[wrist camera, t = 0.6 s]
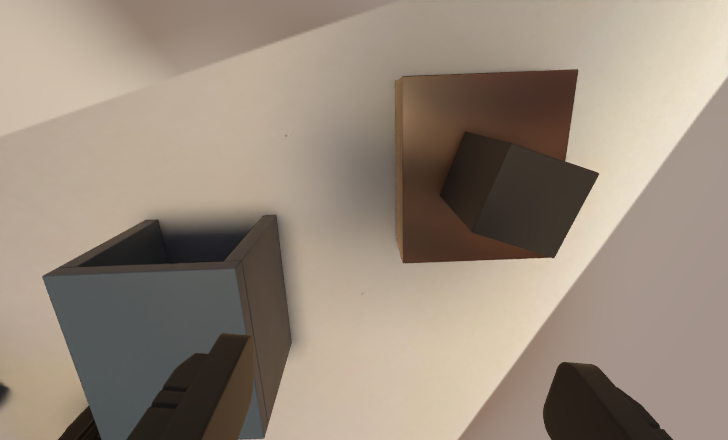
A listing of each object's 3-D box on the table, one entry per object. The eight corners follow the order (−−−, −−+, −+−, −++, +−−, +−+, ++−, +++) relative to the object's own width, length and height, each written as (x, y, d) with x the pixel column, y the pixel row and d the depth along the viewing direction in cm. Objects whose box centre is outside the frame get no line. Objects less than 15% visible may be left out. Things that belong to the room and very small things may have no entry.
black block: (439, 195, 26) (471, 232, 19) (465, 131, 25) (511, 143, 17) (499, 215, 27) (554, 258, 19) (528, 152, 25) (600, 173, 18)
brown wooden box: (395, 80, 28) (401, 76, 24) (542, 74, 28) (578, 69, 24) (396, 240, 33) (402, 263, 28) (523, 235, 33) (551, 257, 28)
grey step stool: (145, 220, 32) (41, 276, 22) (276, 214, 32) (235, 268, 22) (176, 347, 36) (103, 445, 26) (291, 342, 36) (264, 439, 26)
